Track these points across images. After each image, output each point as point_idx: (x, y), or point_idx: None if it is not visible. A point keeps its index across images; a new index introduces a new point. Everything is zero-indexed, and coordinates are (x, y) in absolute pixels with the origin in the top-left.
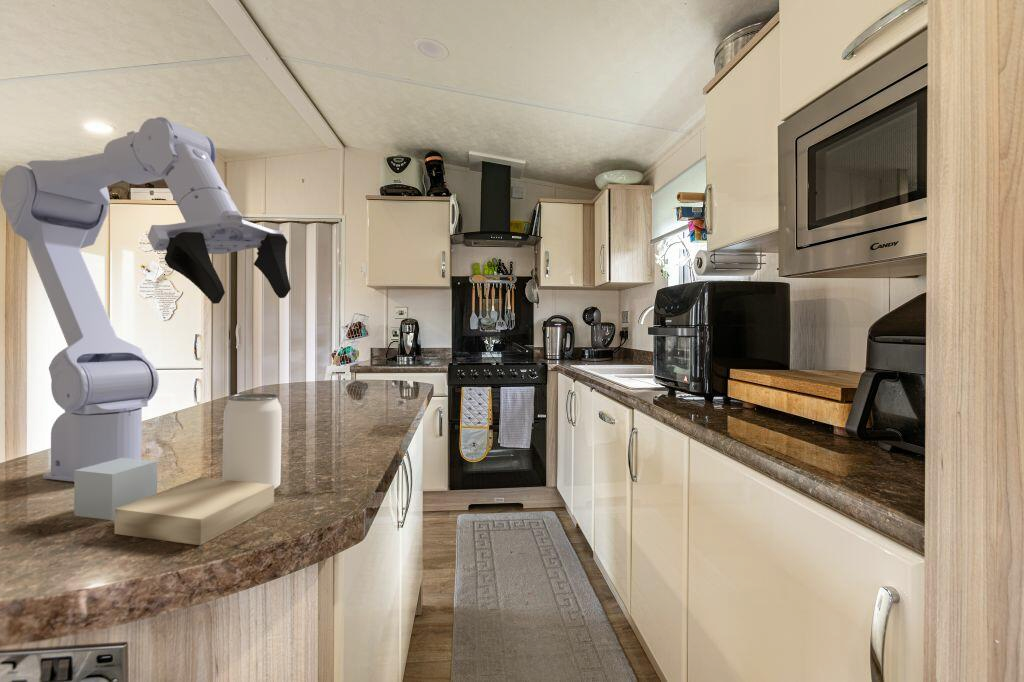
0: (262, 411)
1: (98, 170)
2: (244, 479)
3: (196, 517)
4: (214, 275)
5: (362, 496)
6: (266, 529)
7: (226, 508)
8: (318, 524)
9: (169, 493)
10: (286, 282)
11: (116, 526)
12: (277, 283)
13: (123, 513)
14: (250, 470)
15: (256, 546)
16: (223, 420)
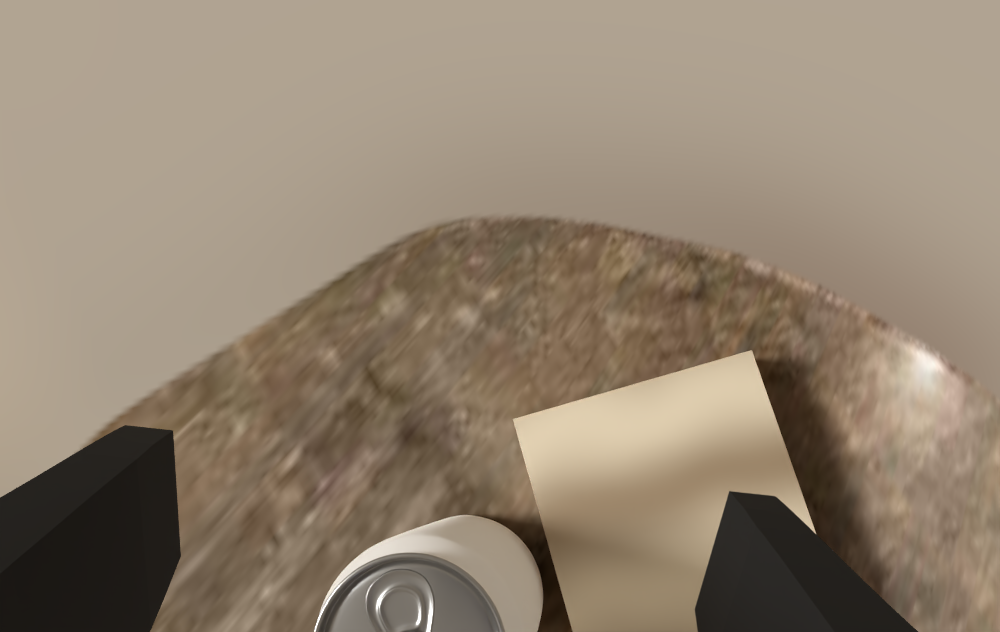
0: (449, 540)
1: None
2: (521, 546)
3: (751, 369)
4: (826, 588)
5: (355, 283)
6: (614, 313)
7: (678, 371)
8: (535, 238)
9: None
10: (116, 448)
11: None
12: (116, 587)
13: None
14: (507, 537)
15: (676, 257)
16: None
